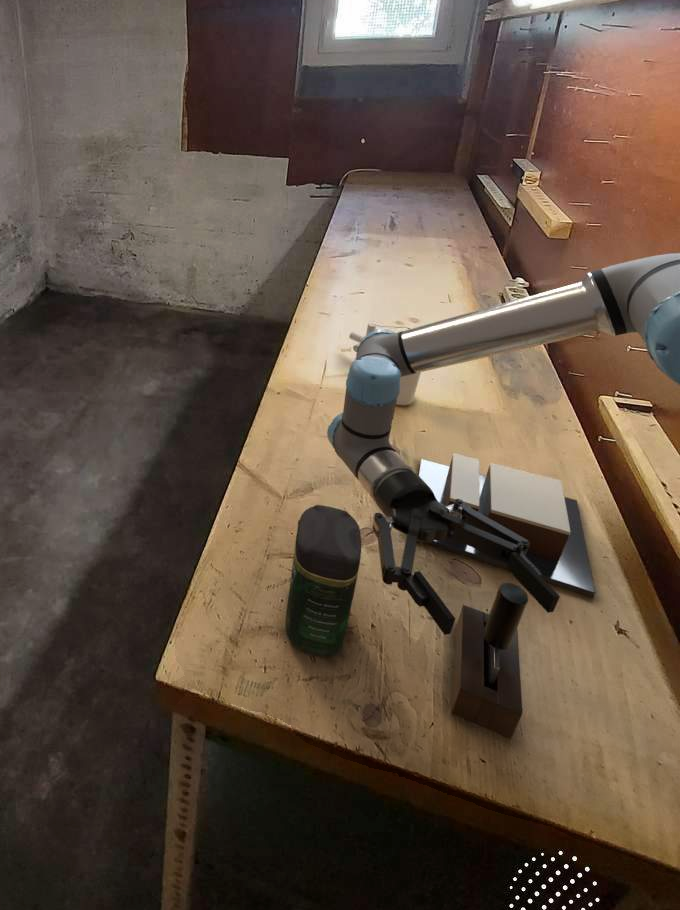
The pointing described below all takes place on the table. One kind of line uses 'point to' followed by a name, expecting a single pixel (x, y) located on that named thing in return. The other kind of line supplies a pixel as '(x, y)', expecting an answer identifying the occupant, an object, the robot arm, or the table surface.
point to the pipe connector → (359, 338)
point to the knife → (501, 627)
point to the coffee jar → (323, 580)
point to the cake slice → (463, 482)
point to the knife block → (469, 693)
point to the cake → (528, 508)
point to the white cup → (407, 389)
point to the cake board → (563, 573)
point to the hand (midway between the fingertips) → (503, 615)
